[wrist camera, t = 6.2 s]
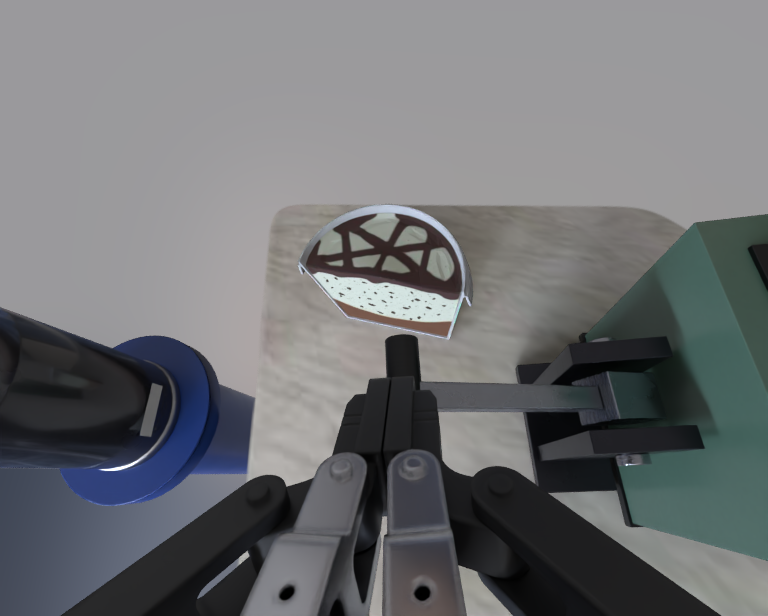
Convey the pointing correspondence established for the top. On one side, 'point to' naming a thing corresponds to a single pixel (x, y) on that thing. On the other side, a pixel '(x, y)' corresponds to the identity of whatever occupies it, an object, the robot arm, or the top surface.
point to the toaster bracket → (590, 443)
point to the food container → (391, 268)
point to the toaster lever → (538, 392)
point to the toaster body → (704, 386)
